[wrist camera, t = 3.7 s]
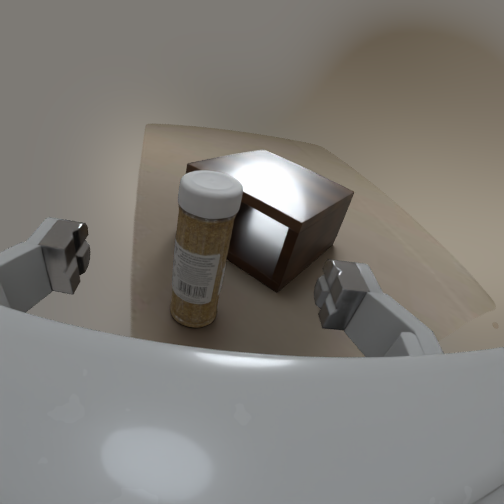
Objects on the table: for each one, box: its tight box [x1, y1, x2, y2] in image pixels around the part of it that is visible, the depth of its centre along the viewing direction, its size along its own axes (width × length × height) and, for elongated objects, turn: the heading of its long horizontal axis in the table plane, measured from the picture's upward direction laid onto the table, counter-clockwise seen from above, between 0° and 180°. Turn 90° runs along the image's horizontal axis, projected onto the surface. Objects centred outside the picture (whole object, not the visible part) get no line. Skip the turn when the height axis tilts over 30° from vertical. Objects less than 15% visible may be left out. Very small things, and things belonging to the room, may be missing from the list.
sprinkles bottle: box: [170, 170, 243, 328], centre depth 25 cm, size 5×5×13 cm
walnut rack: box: [186, 150, 354, 292], centre depth 40 cm, size 16×16×9 cm
